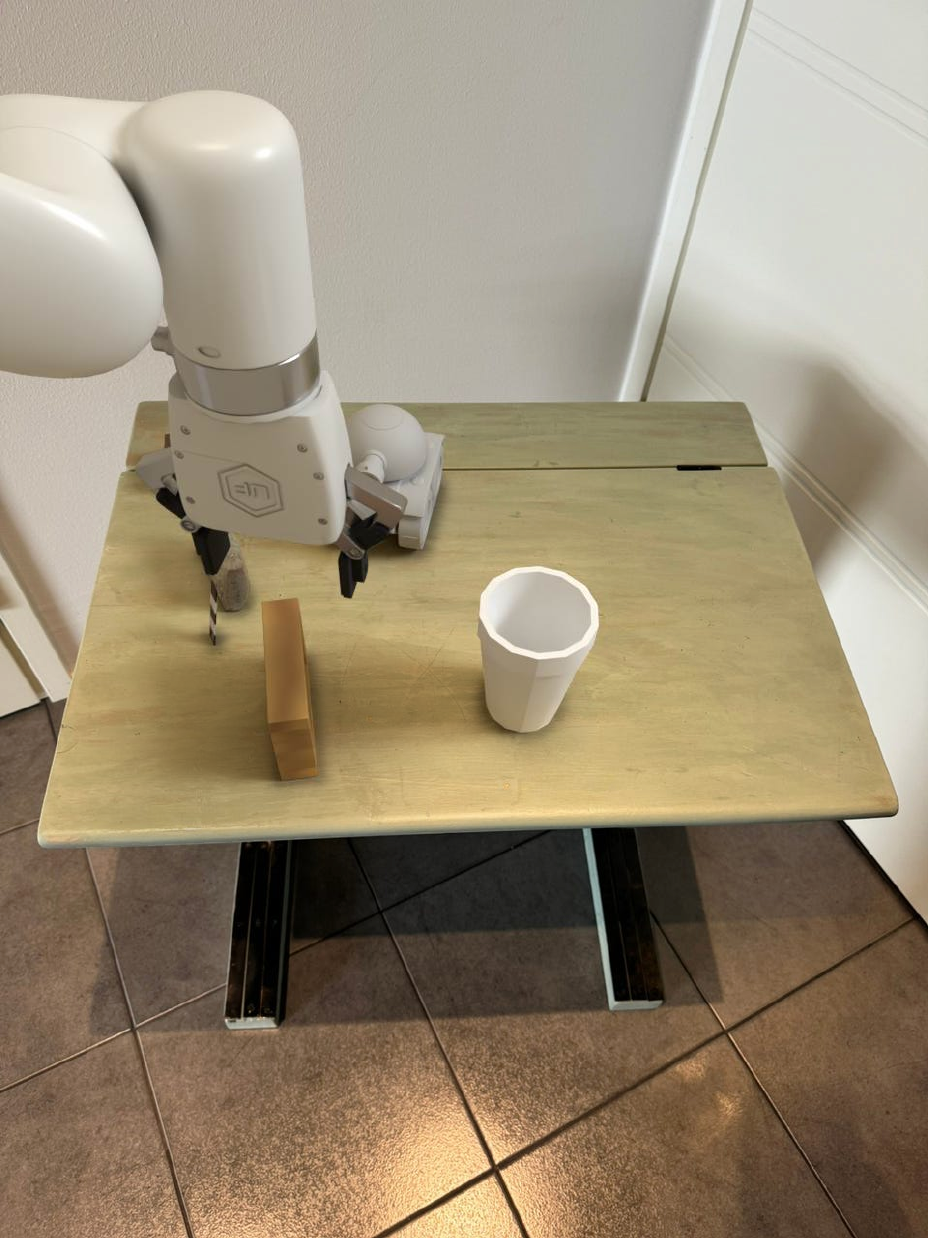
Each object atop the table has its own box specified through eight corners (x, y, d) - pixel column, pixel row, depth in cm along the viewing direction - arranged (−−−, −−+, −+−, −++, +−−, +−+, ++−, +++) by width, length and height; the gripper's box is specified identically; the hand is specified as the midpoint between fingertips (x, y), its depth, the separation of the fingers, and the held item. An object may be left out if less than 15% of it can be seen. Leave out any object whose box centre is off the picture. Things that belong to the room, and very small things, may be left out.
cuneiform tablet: (213, 645, 77) (178, 558, 84) (261, 635, 79) (222, 551, 86) (215, 591, 72) (177, 503, 79) (265, 582, 74) (224, 497, 81)
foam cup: (560, 656, 79) (583, 562, 68) (584, 741, 73) (613, 652, 63) (461, 666, 77) (469, 571, 67) (478, 753, 72) (489, 664, 61)
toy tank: (420, 570, 84) (421, 472, 74) (318, 554, 85) (306, 455, 75) (444, 473, 94) (449, 375, 84) (353, 460, 95) (346, 361, 84)
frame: (281, 781, 69) (267, 723, 62) (274, 664, 76) (261, 601, 69) (318, 776, 69) (308, 718, 62) (307, 660, 77) (297, 597, 70)
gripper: (65, 376, 43) (145, 591, 57) (389, 426, 42) (393, 633, 56) (126, 301, 48) (186, 516, 61) (419, 344, 47) (416, 553, 60)
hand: (285, 571), depth 59 cm, fingers open, 9 cm apart
